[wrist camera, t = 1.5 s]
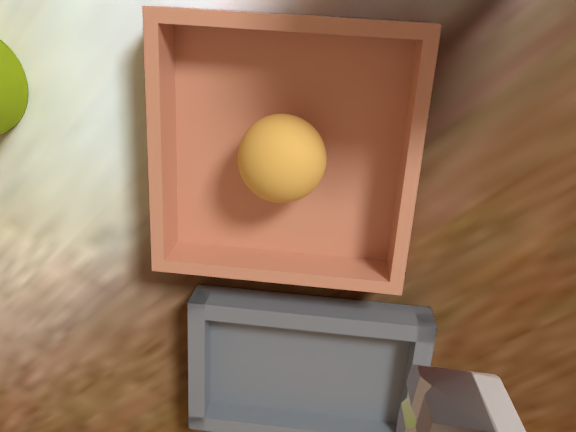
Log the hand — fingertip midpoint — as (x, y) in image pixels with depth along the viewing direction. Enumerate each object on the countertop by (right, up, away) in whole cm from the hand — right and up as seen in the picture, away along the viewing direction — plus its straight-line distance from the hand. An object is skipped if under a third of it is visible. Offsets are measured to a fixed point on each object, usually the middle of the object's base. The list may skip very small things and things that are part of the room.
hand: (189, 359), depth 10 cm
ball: (+2, +5, +17) cm, 18 cm away
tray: (+3, -6, +24) cm, 25 cm away
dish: (+2, +6, +20) cm, 21 cm away
